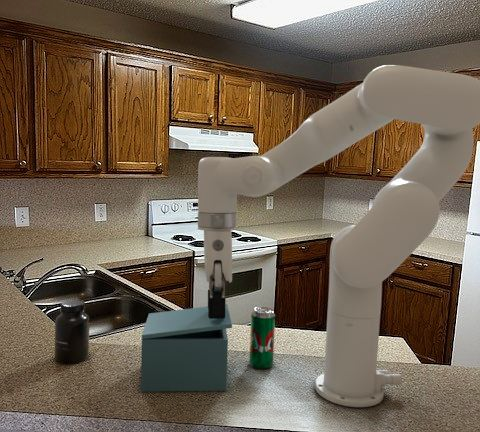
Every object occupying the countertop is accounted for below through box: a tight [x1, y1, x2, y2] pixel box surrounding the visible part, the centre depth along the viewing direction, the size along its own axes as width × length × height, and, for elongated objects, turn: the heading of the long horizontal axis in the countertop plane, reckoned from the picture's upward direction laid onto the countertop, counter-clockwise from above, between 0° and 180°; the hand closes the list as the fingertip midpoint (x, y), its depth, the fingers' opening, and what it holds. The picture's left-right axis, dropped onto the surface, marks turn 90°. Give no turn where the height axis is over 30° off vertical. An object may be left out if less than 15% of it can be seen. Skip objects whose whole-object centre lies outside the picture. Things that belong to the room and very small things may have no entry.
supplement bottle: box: [54, 299, 90, 365], centre depth 95 cm, size 7×7×12 cm
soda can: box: [249, 306, 276, 370], centre depth 95 cm, size 5×5×12 cm
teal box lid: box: [141, 303, 233, 340], centre depth 88 cm, size 16×13×6 cm
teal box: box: [140, 329, 229, 393], centre depth 89 cm, size 16×13×10 cm
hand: (216, 312), depth 89 cm, fingers closed on teal box lid, 5 cm apart
